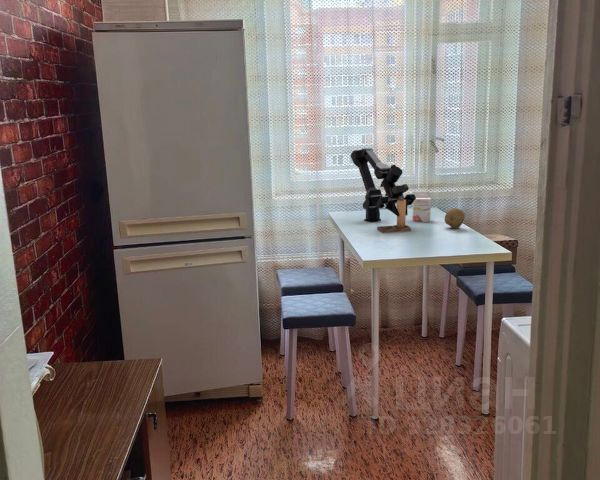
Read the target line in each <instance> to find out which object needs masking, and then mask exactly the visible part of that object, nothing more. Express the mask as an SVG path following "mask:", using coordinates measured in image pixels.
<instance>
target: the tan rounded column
mask: <svg viewBox="0 0 600 480" xmlns="http://www.w3.org/2000/svg"><path fill="white" fill-rule="evenodd" d="M404 198H405V196H404V195H403V196H399V200H397V203H396V208H397V210H398V212H399V217H398V216H396V225H397V228H405V225H406V219H407V218H406V217H407V216H406V200H404Z"/></svg>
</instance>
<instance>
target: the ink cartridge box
mask: <svg viewBox="0 0 600 480" xmlns="http://www.w3.org/2000/svg"><path fill="white" fill-rule="evenodd" d="M413 194H414V195H415V197H416V199H415V200H414V202H413V203H412V218H411V219H412V222H416V223H430V222H431V211H432V210H431V207H432V206H431V205H432V198H431V192H430V191H425V190H423V191H416V190H415V191H413Z"/></svg>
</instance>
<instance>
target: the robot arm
mask: <svg viewBox="0 0 600 480" xmlns="http://www.w3.org/2000/svg"><path fill="white" fill-rule="evenodd" d="M350 158H351V161H352V163H353V165H354V166H356V167H357V168H358V171H359V173H360V174H359V175H360V176H361V179H362V182H363V185H364V188H365V192H366V193H365V196H364V202H362V209H364V210H365V218H364V219H363V221H365V222H372V223H375V222H378V221H382V218H381V212H380V209H384V210H388V211H390V212H391V213H393V214H394V215H395V216H396V217H397V216H398V217H399V212H398V210H397V205H396V204H397V200H399V196H404V193H407V191H409V189H410V188H409V186H408V183H404V184H402V185H397V184H396V183H397V182H398V181H399V179H400V178H401V176H402V174H403V169H401V168H400V167H399V166H397V165H396V164H391V166H389V164H386V163H383V161H381V160H380V158H379V157H378V156H377V155H376V153H375V152H374V149H373V148H372V147H364V148H361V149H355V150H353V151H352V152H351V153H350ZM368 163H369V165H370V166H371V168H372V169H373V173H374V176H375V177H376V179H377V180H382V181H381V182H380V186H379V187H380V188H383V189H384V192H385V194H384V196H383V194H382V191H381V189H379V188H378V189H377V188H376V186H375V182H374V179H373V175H372V174H371V170H370V167H369V165H368ZM415 199H416V197H415V195H414V193H408V194H406V195H405V196H404V200H406V217H407V216H408V206H411V205H413V202H414V200H415Z"/></svg>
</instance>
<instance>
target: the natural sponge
mask: <svg viewBox="0 0 600 480" xmlns="http://www.w3.org/2000/svg"><path fill="white" fill-rule="evenodd" d="M465 215H466V214H465V213H464V211H463V210H462V209H460V208H456V207H455V208H454V207H453V208H451V209H449V210H447V212H446V213H445V215H444V222H445V224H446V225H448V226H449V227H451V229H455V230H457V229H459V228H460V227H461V226H462V225H463V223H464V221H465Z"/></svg>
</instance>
